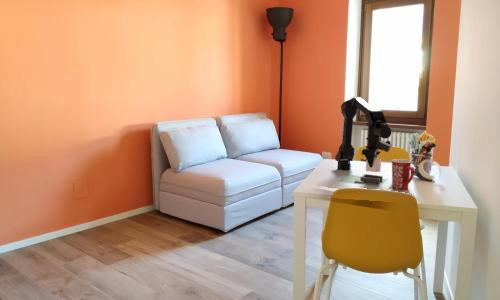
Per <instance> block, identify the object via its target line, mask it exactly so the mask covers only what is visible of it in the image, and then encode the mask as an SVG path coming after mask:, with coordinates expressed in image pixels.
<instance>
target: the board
mask: <svg viewBox="0 0 500 300" xmlns="http://www.w3.org/2000/svg"><path fill="white" fill-rule="evenodd" d="M361 176H362V175H354V174H346V175H344V176H343V177H341V178H340V179H338V180H337V182H341V183H349V184H356V185H363V186H370V187H378V188H380V187H381V186H382V185H384V183H386V182H387V181H388V179H387V178H383V180H382V182H380V184H373V183H365V182H364V181H362V180H360V179H361Z"/></svg>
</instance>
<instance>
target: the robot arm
mask: <svg viewBox="0 0 500 300" xmlns="http://www.w3.org/2000/svg"><path fill="white" fill-rule="evenodd" d="M340 110H341V114H342V117H343V126H342V128H343V129H342V141H341V142H342V143H341V144H340V146H339V147H338V151H337V153H336V155H335V156H334V161H335V162H337V167H336V168H337V170H341V171H350V170H351V169H352V163H351V162H353V161H354V157H355V147H354V146H353V145H352V139H353V138H352V136H353V124H354V118H355V117H356V115H357V113H358V110H359V111H360V112H362V113H363V114H364V118H365V119H366V121H367V123H366V124H365V125H366V126H367V127H368V128H367V137H366V139H365V140H366V141H367V143H366V146H365V148H363V149H362V150H361V155H362V156H364V157H365V159H367V161H368V164H369V166H370V167H372V166H373V162H374V157H379V156H378V155H380V154H382V151H384V152H385V153H388V152H390V150H391V149H392V146H393V144H391V140H386V141H385V140H382V139H388V138H390V136H391V135H392V129H391V127H390V126H389V124H388V123H387V119H386V117H385V114H384V111H383V110H382V109H379V108H376V107H373V106H371V105H370V104H369V103H367V101H365V100H364V98H362V97H361V96H355V97H354V96H353V97H351V98H350V99H348V100H345V101H343V102H342V103H341V105H340Z"/></svg>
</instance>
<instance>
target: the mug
mask: <svg viewBox="0 0 500 300" xmlns="http://www.w3.org/2000/svg"><path fill="white" fill-rule="evenodd" d="M411 164H412V160H409V159H404V158H403V159H402V158H400V159H399V158H397V159H396V158H394V159H391V180H392V181H391V186H392V187H391V188H392V189H394V190H399V191H404V190H409V184H410V183H411V182H412V180H413V178H414V176H415V175H414V174H415V170H414V167H413V166H412V165H411Z"/></svg>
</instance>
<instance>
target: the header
mask: <svg viewBox="0 0 500 300" xmlns="http://www.w3.org/2000/svg"><path fill="white" fill-rule="evenodd" d="M360 176H361V179H360V180H362V181H364V182H365V183H373V184H380V182H382V180H383V179H384V178H383V177H384V176H383V175H378V174H377V175H376V174H369V173H364V174H362V175H360Z"/></svg>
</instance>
